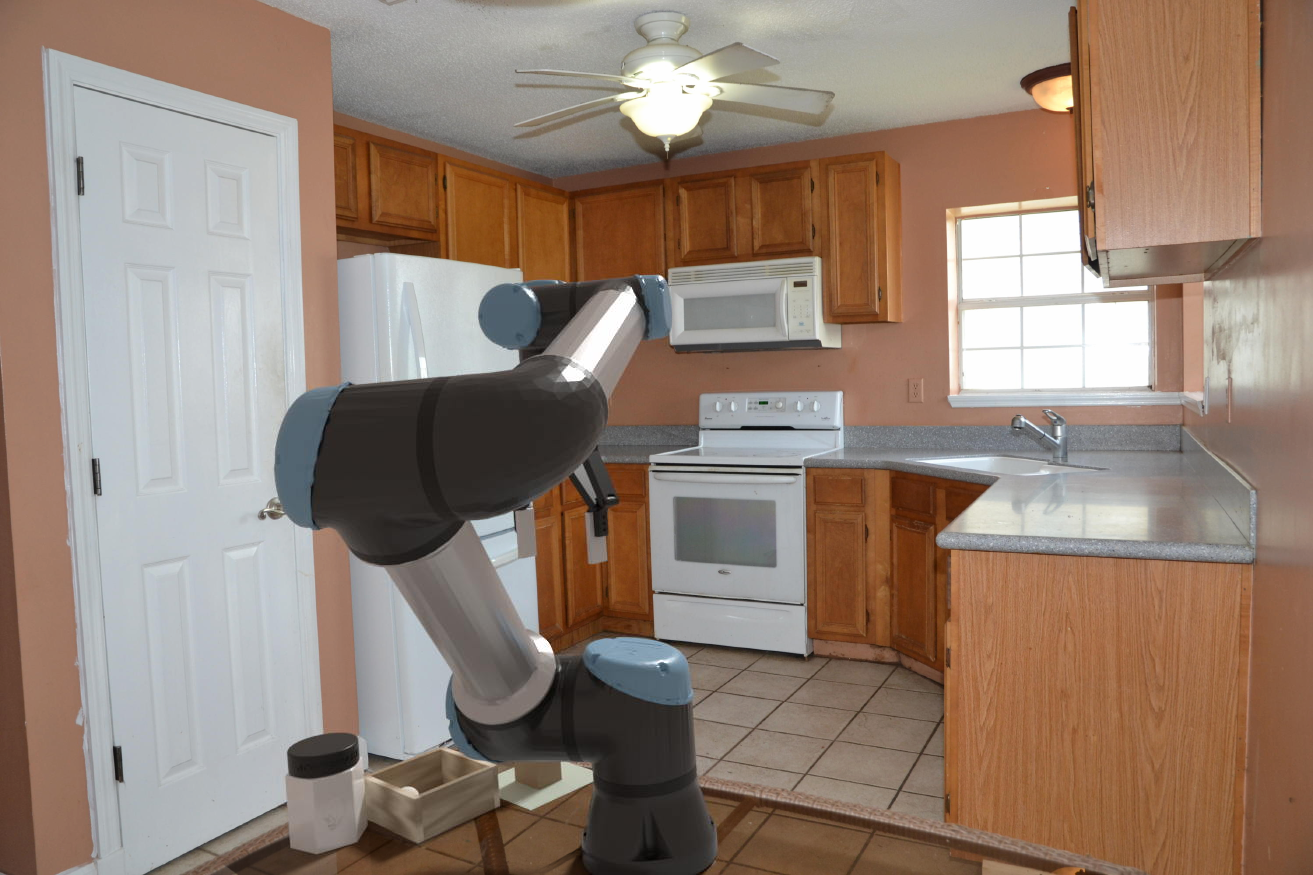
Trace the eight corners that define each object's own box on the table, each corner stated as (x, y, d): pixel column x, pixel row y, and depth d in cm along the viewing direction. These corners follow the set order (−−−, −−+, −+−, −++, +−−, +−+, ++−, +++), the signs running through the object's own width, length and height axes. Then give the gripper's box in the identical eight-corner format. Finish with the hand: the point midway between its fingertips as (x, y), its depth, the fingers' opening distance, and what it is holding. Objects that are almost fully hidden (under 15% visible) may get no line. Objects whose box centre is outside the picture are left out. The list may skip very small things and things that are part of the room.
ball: (425, 810, 113) (423, 785, 113) (403, 820, 110) (401, 794, 110) (411, 804, 115) (409, 780, 115) (389, 814, 113) (387, 789, 112)
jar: (297, 867, 102) (289, 763, 101) (284, 841, 109) (277, 743, 108) (377, 843, 107) (369, 743, 106) (359, 819, 113) (352, 726, 113)
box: (500, 811, 113) (497, 764, 113) (418, 849, 104) (414, 799, 104) (445, 789, 121) (442, 746, 121) (364, 823, 112) (361, 776, 112)
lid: (607, 783, 120) (602, 716, 120) (531, 819, 111) (526, 746, 111) (545, 762, 129) (541, 699, 129) (470, 794, 120) (465, 726, 120)
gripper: (639, 392, 113) (650, 559, 113) (511, 404, 129) (521, 550, 129) (597, 393, 107) (609, 569, 107) (469, 406, 123) (480, 559, 124)
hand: (561, 559), depth 118 cm, fingers open, 13 cm apart
